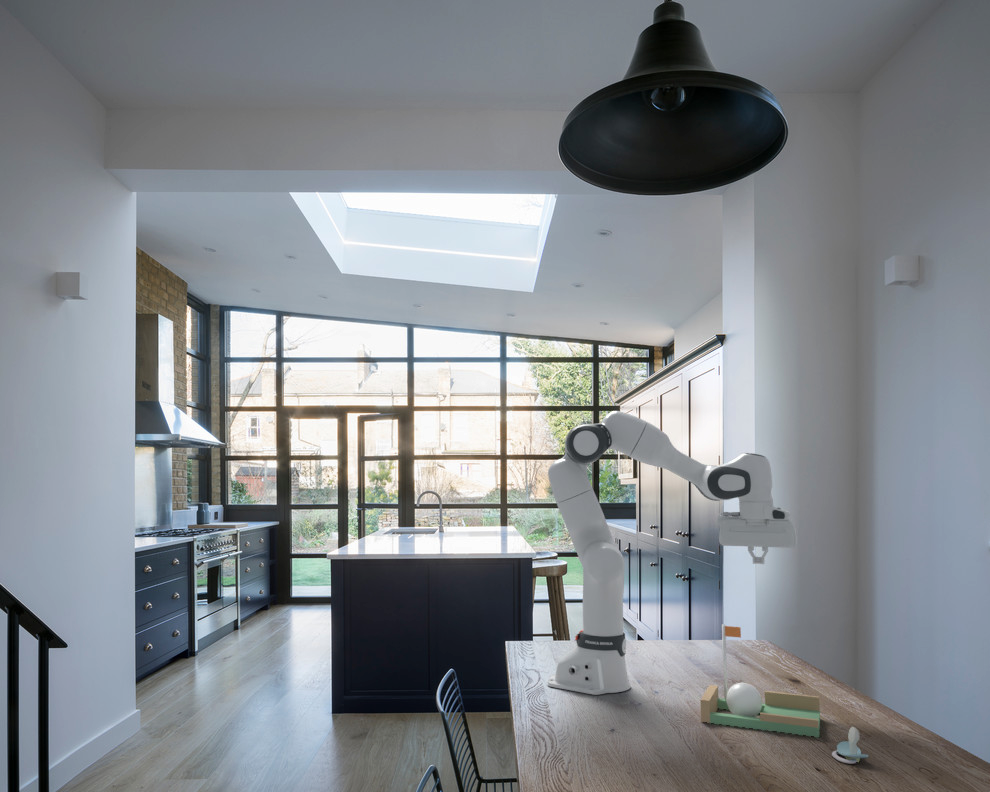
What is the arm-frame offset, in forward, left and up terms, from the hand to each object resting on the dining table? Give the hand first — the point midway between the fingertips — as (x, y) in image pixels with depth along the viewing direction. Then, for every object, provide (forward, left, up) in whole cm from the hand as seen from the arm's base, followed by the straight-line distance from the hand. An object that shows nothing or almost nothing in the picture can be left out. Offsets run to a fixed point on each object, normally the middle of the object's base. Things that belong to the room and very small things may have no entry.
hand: (758, 563), depth 200 cm
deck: (+2, -27, -33) cm, 43 cm away
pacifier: (+20, -45, -34) cm, 59 cm away
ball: (-2, -27, -29) cm, 40 cm away
